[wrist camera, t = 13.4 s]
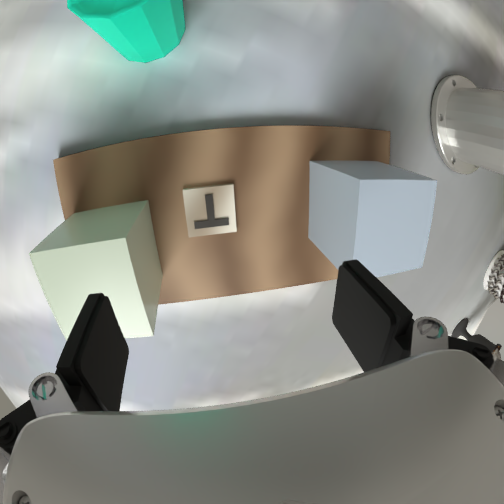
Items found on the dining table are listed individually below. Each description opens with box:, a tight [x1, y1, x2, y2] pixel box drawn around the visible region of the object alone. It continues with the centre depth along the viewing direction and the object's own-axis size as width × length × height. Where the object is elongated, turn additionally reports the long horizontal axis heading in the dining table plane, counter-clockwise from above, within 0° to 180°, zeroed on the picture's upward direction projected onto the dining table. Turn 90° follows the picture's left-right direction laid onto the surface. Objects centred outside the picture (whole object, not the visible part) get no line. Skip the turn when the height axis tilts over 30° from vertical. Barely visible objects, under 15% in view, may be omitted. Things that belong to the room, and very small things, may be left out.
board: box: [53, 126, 390, 304], centre depth 23 cm, size 30×15×2 cm, turn 92°
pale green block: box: [29, 200, 163, 340], centre depth 19 cm, size 7×7×8 cm
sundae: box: [452, 318, 501, 360], centre depth 35 cm, size 7×7×15 cm
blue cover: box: [308, 160, 437, 277], centre depth 21 cm, size 7×7×8 cm
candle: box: [67, 0, 185, 63], centre depth 10 cm, size 6×6×12 cm
